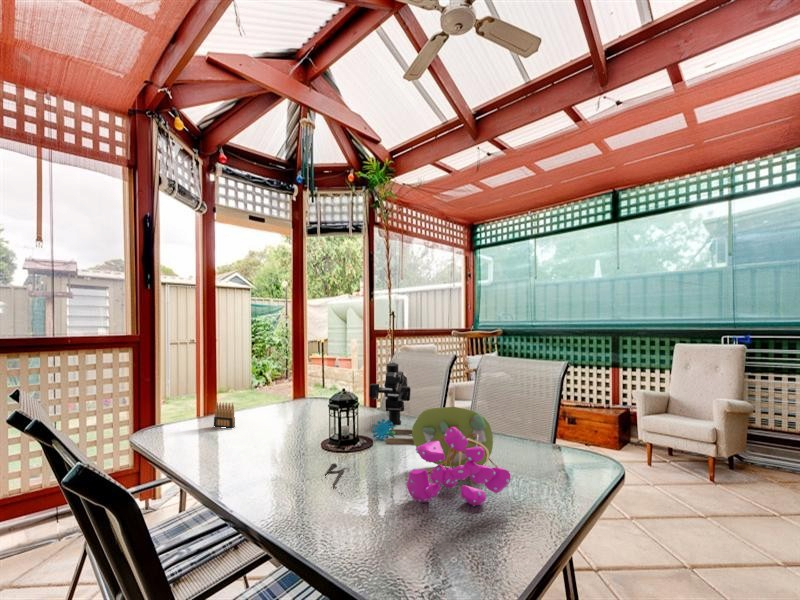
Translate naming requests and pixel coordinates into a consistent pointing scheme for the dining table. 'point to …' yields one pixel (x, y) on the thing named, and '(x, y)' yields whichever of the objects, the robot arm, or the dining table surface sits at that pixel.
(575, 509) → the dining table surface
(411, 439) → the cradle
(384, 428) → the blue flower
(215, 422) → the ammunition clip
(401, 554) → the dining table surface
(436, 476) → the pink berry cluster
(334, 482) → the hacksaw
